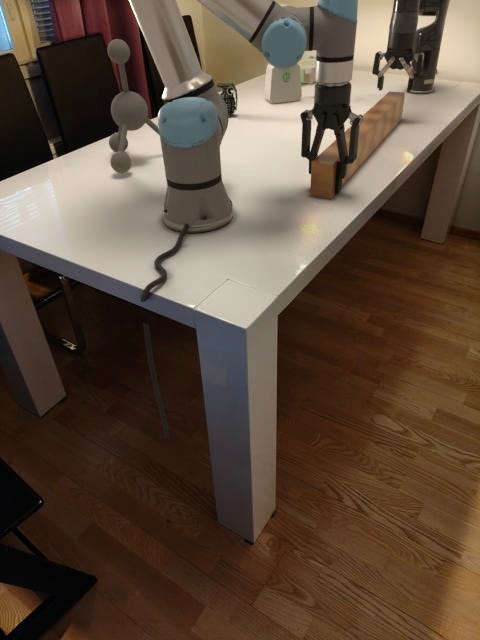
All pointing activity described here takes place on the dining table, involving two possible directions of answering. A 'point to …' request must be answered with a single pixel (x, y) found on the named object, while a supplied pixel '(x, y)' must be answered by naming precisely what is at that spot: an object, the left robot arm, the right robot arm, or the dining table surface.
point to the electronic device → (283, 81)
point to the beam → (370, 136)
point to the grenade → (229, 96)
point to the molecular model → (125, 110)
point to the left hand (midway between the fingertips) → (326, 188)
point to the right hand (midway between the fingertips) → (394, 90)
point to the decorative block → (307, 69)
